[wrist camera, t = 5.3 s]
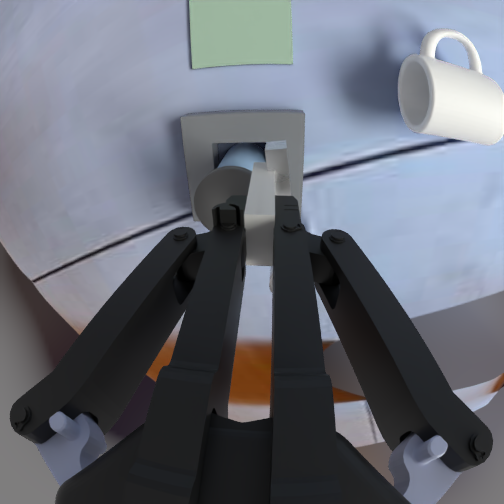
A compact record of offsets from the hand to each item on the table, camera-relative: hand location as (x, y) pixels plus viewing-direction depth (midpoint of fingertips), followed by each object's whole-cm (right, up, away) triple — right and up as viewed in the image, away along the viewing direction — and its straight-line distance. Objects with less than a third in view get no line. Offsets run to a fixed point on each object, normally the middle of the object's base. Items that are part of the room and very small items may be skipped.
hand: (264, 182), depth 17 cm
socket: (-1, +5, +12) cm, 13 cm away
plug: (-1, +5, +12) cm, 13 cm away
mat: (-2, +18, +3) cm, 18 cm away
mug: (+19, +14, +3) cm, 24 cm away
